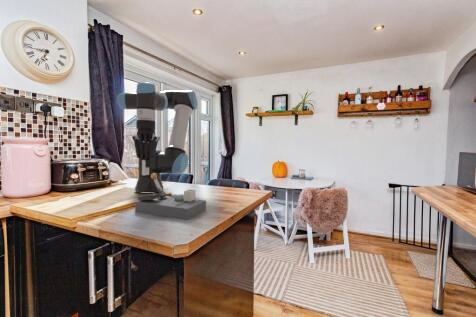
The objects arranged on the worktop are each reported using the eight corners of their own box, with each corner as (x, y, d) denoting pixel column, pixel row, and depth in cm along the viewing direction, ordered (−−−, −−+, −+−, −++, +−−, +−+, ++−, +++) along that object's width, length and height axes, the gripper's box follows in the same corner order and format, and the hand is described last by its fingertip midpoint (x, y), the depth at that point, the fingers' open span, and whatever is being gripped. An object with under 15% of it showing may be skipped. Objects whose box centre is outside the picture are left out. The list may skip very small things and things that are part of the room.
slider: (189, 198, 100) (189, 188, 100) (195, 199, 99) (195, 189, 99) (183, 200, 97) (183, 190, 96) (190, 201, 96) (190, 191, 95)
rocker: (147, 198, 99) (146, 194, 99) (160, 197, 97) (160, 192, 97) (138, 200, 95) (137, 196, 95) (152, 199, 92) (152, 195, 92)
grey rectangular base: (158, 203, 107) (158, 190, 107) (205, 210, 99) (206, 195, 99) (135, 211, 94) (135, 196, 94) (187, 219, 86) (187, 203, 86)
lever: (163, 197, 102) (152, 174, 103) (167, 195, 101) (156, 171, 102) (159, 199, 99) (148, 174, 101) (163, 196, 98) (152, 172, 100)
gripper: (127, 119, 100) (127, 174, 102) (152, 118, 96) (151, 177, 97) (140, 121, 107) (139, 173, 109) (164, 120, 103) (163, 175, 104)
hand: (145, 174), depth 103 cm, fingers closed
